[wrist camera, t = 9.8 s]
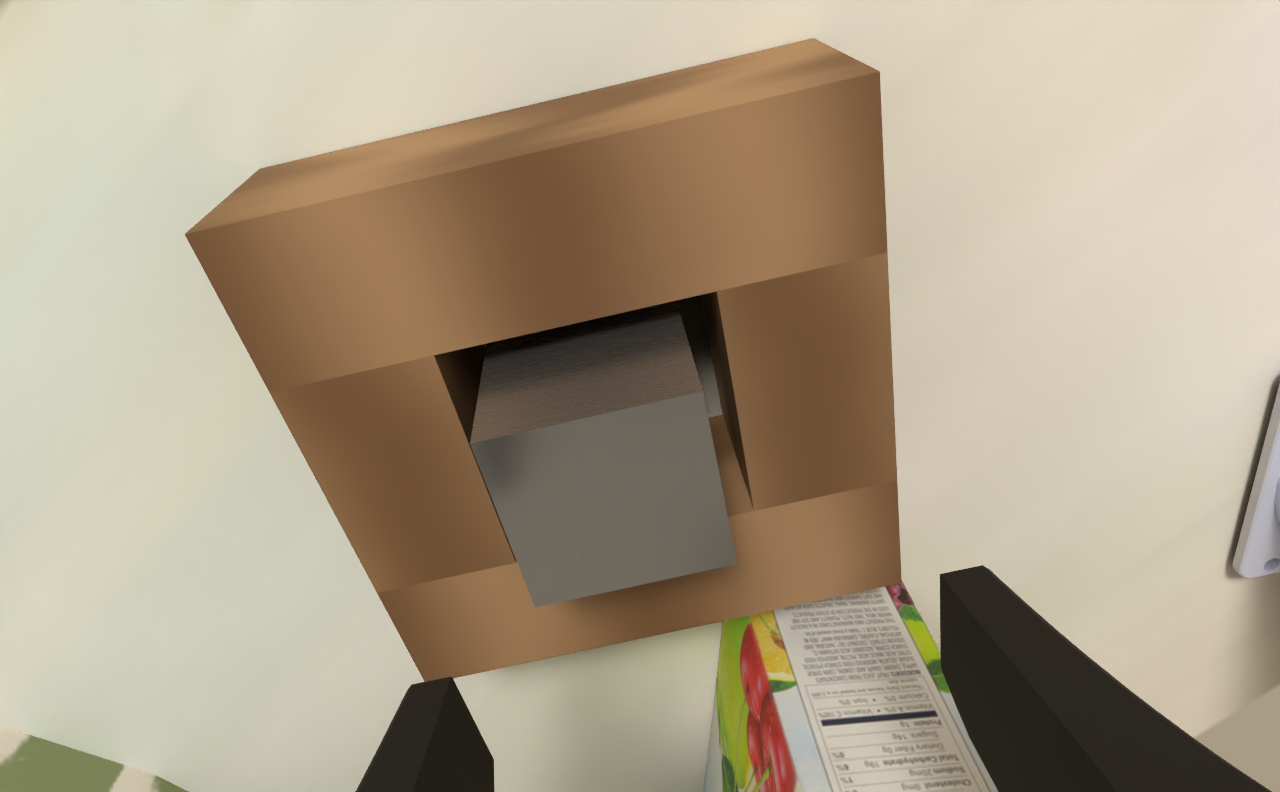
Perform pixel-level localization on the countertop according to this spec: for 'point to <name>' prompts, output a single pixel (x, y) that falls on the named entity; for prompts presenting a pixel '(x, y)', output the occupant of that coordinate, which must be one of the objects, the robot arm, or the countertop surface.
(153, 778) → the grocery bag
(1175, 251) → the countertop surface
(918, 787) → the snack box
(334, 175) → the socket block
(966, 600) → the robot arm
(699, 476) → the square bit
